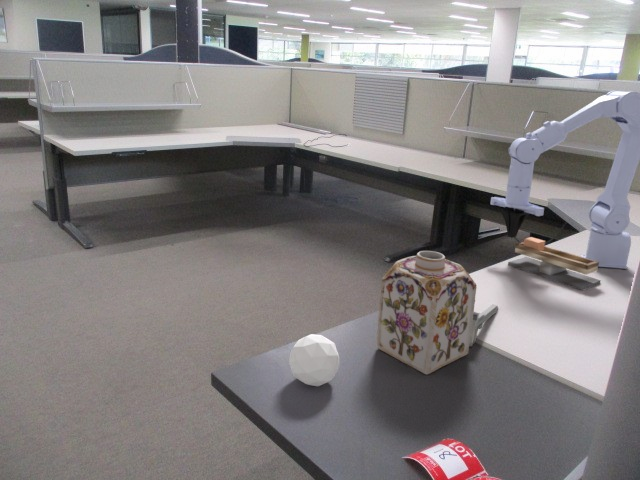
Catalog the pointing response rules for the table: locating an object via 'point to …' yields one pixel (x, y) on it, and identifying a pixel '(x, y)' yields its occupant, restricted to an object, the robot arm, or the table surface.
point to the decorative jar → (426, 311)
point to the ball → (314, 360)
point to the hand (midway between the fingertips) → (511, 236)
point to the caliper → (480, 321)
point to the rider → (534, 243)
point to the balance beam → (557, 266)
